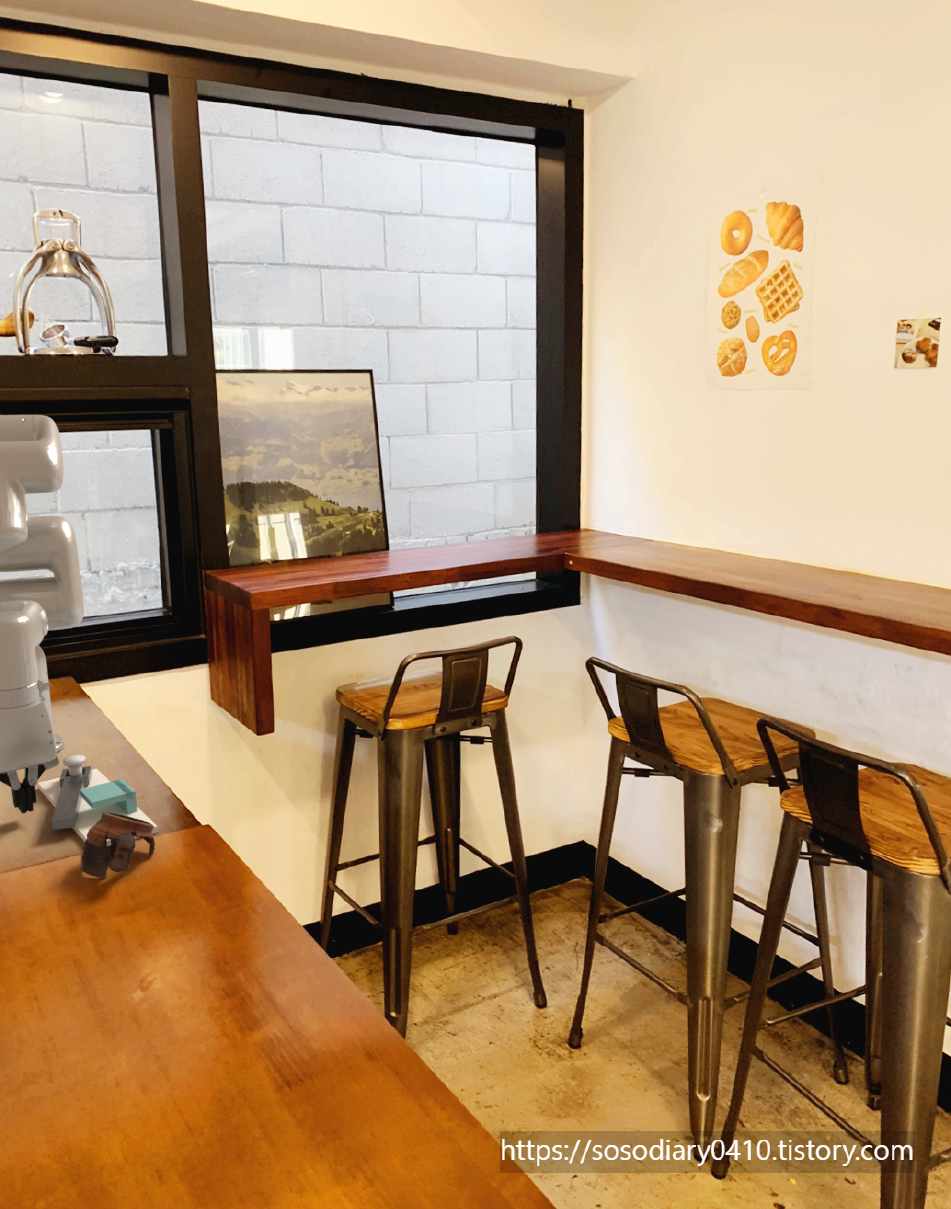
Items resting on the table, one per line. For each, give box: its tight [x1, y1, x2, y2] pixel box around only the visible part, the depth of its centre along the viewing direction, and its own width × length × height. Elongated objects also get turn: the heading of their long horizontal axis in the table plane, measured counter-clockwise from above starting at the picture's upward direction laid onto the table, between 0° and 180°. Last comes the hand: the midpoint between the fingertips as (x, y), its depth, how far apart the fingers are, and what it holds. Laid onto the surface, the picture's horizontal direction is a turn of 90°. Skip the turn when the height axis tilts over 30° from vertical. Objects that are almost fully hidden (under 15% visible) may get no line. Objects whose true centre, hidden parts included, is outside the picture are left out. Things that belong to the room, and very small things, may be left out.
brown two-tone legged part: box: [79, 812, 156, 880], centre depth 131 cm, size 12×10×8 cm
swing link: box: [51, 765, 93, 831], centre depth 149 cm, size 20×4×2 cm, turn 17°
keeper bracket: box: [80, 778, 138, 814], centre depth 146 cm, size 6×6×3 cm
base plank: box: [37, 754, 159, 846], centre depth 148 cm, size 28×10×5 cm, turn 39°
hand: (25, 809), depth 145 cm, fingers closed
